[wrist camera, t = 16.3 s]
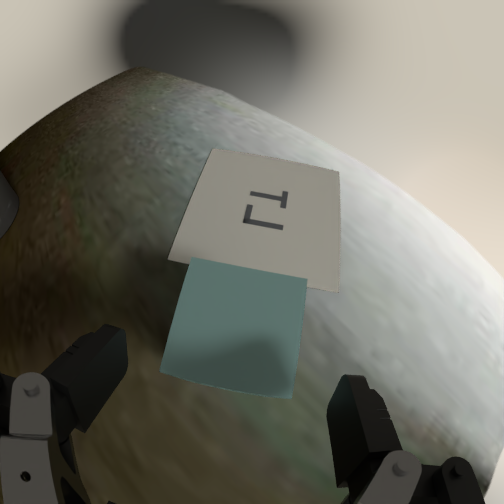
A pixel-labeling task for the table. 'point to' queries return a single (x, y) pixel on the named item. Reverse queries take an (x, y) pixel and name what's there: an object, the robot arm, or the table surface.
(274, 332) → the teal block
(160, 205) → the table surface
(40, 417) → the robot arm
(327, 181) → the card
